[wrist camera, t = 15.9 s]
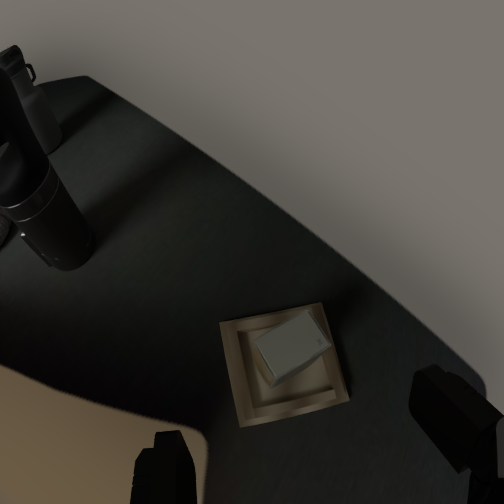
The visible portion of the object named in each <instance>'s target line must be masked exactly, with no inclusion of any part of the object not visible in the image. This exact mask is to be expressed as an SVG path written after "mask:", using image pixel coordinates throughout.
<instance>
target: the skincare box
mask: <svg viewBox="0 0 504 504" xmlns="http://www.w3.org/2000/svg"><path fill="white" fill-rule="evenodd" d="M330 346H331V343H330V342H329V340H328V338H327V337H326V335H325V334H324V332H323V330H322V329H321V327H320V326H319V324H318V323H317V321H316V320H315V318H314V317H313V316H312V314H311V313H310V312H309V310H305V311H303V312H301V313H299V314H297V315H295V316H293V317H291V318H289V319H288V320H286V321H284V322H282V323H281V324H279V325H277V326H275V327H274V328H272V329H270V330H269V331H267V332H265V333H264V334H262V335H260V336H259V337H257V338H255V339H254V340H253V363H254V364H255V366H256V368H257V370H258V372H259V373H260V375H261V377H262V379H263V380H264V382H265V384H266V385H267V387H268V388H269V389H272V388H274V387H276V386H278V385H279V384H281V383H283V382H285V381H287V380H288V379H290V378H292V377H293V376H295V375H297V374H298V373H300V372H301V371H303V370H304V369H306V368H307V367H309V366H310V365H311V364H312V363H313V362H315V361H316V360H317V359H318V358H319V357H320V356H321V355H322V354H323V353H324V352H325V351H326V350H327V349H328V348H329V347H330Z"/></svg>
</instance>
